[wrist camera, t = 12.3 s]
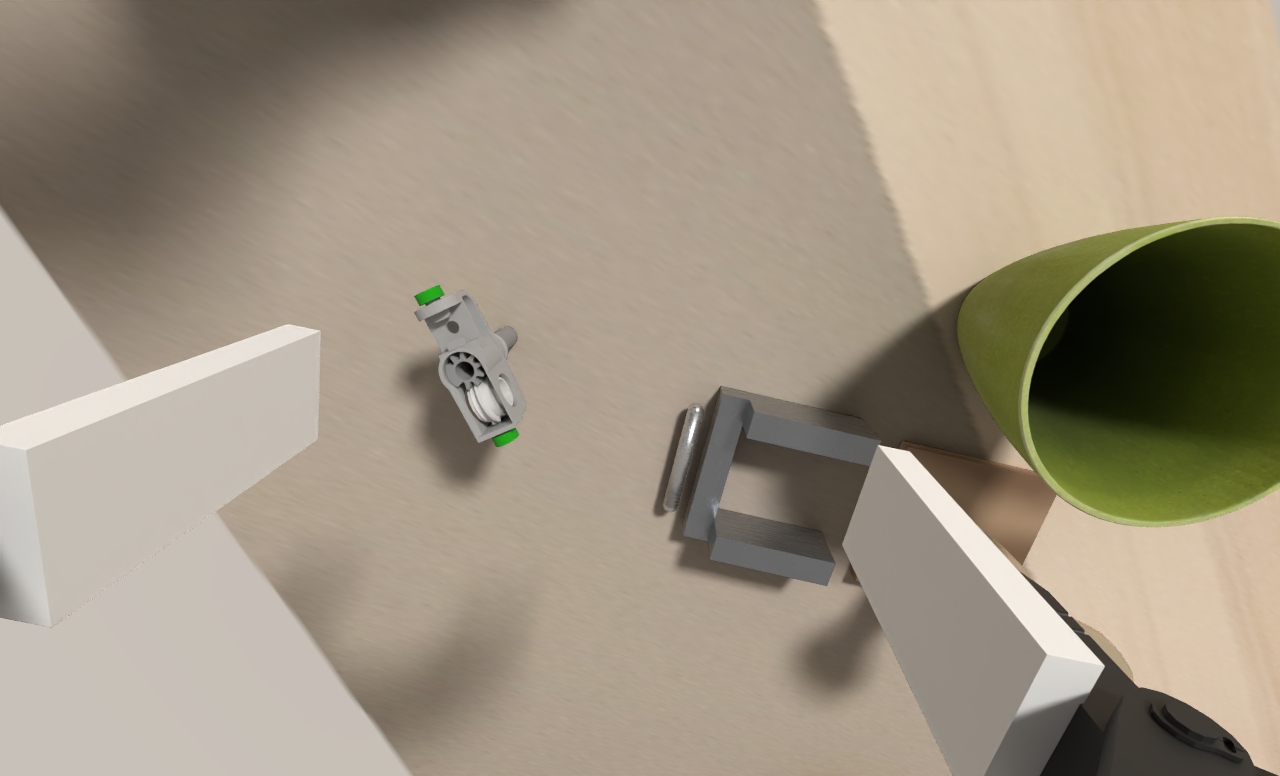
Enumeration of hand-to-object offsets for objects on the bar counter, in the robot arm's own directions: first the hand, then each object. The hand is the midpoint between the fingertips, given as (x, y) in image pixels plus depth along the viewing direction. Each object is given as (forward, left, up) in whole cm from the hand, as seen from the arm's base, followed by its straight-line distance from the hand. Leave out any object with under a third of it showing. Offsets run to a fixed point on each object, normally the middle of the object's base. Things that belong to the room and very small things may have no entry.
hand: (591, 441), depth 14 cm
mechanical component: (+6, -9, -31) cm, 33 cm away
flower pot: (-3, +26, -31) cm, 40 cm away
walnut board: (+13, +28, -31) cm, 43 cm away
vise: (+12, +12, -31) cm, 35 cm away
